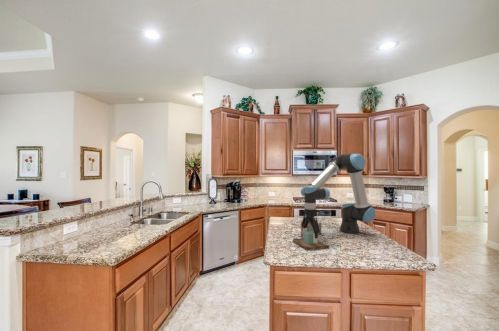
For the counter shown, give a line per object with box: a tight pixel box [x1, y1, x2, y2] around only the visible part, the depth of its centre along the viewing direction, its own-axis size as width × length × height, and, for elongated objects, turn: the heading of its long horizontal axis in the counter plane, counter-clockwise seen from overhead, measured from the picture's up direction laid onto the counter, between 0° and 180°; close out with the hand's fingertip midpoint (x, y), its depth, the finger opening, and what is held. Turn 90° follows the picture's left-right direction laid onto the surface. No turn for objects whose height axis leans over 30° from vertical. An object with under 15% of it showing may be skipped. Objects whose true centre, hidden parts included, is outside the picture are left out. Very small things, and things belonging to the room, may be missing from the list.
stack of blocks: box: [300, 220, 322, 238], centre depth 197 cm, size 21×6×12 cm, turn 139°
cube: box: [303, 231, 317, 245], centre depth 173 cm, size 7×7×7 cm
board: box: [292, 237, 330, 251], centre depth 173 cm, size 16×20×2 cm
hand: (310, 240), depth 173 cm, fingers open, 13 cm apart
